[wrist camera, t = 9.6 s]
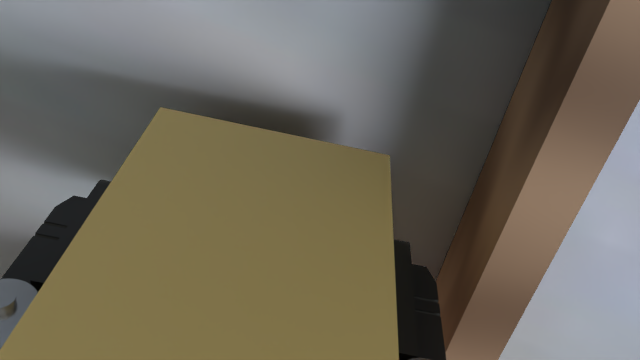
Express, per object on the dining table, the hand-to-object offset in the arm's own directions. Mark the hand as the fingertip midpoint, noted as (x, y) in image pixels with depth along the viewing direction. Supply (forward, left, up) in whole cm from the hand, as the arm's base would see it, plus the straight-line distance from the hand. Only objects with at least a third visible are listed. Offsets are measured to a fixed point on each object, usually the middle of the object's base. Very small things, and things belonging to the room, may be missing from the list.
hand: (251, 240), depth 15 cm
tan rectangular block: (0, 0, -2) cm, 2 cm away
